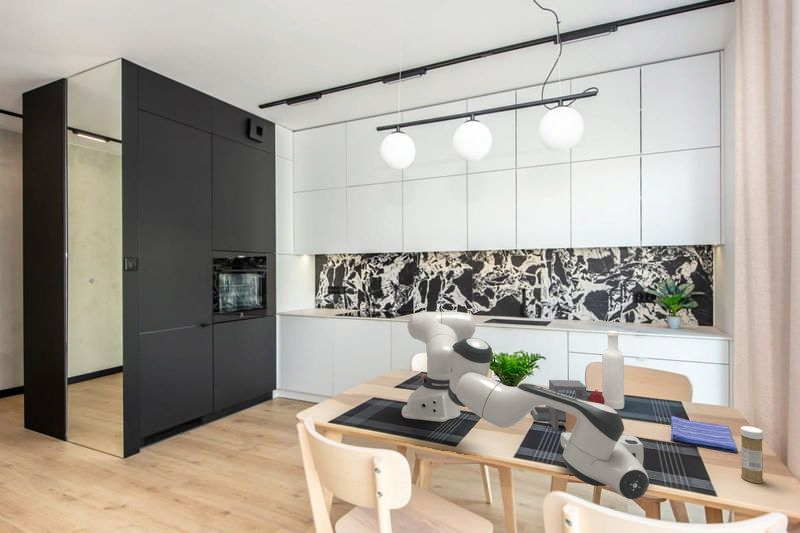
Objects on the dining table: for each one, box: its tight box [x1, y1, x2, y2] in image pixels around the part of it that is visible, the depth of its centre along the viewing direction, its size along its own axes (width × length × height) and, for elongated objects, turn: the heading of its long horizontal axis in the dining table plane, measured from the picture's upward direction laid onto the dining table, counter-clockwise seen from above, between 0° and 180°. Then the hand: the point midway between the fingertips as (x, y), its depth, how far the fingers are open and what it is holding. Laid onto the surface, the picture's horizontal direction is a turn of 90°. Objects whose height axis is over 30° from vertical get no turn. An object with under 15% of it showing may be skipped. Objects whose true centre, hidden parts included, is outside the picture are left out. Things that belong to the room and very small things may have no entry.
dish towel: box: [670, 415, 738, 454], centre depth 141 cm, size 17×24×3 cm
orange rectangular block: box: [564, 412, 577, 433], centre depth 135 cm, size 5×14×10 cm, turn 173°
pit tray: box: [530, 405, 566, 423], centre depth 158 cm, size 20×9×2 cm, turn 83°
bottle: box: [601, 330, 625, 410], centre depth 170 cm, size 8×8×30 cm
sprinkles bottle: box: [739, 425, 764, 484], centre depth 112 cm, size 5×5×14 cm
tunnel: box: [548, 379, 587, 431], centre depth 149 cm, size 10×8×15 cm
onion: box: [587, 388, 605, 405], centre depth 166 cm, size 6×6×8 cm
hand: (590, 432), depth 125 cm, fingers open, 8 cm apart
